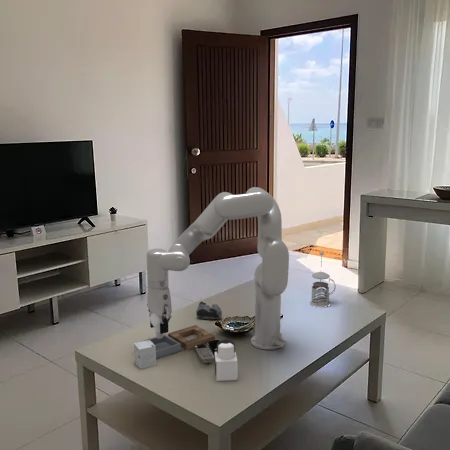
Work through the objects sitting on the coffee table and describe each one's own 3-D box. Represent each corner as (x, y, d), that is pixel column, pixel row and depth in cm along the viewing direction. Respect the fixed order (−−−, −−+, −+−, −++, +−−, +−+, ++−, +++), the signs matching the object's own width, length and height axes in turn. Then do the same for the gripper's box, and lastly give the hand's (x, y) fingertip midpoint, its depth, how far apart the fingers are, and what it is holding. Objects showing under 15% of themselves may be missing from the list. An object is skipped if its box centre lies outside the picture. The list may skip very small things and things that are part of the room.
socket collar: (214, 341, 193) (214, 335, 193) (186, 350, 185) (186, 344, 185) (195, 330, 203) (195, 325, 203) (168, 339, 195) (168, 333, 195)
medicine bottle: (214, 370, 170) (214, 337, 168) (235, 370, 171) (235, 337, 168) (216, 381, 163) (215, 347, 161) (237, 380, 164) (237, 346, 162)
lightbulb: (165, 342, 181) (164, 314, 179) (148, 341, 182) (147, 312, 180) (170, 335, 187) (169, 307, 185) (154, 334, 188) (153, 306, 186)
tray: (181, 351, 185) (180, 343, 184) (154, 360, 178) (154, 352, 178) (165, 341, 193) (165, 334, 193) (139, 349, 187) (139, 341, 186)
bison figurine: (221, 322, 213) (225, 312, 222) (220, 306, 211) (225, 297, 220) (193, 320, 215) (199, 311, 224) (193, 305, 213) (198, 296, 223)
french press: (308, 300, 238) (310, 248, 233) (333, 301, 236) (335, 249, 231) (309, 307, 228) (311, 254, 223) (335, 308, 227) (337, 255, 222)
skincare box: (134, 362, 177) (133, 342, 175) (150, 358, 180) (149, 339, 178) (140, 369, 172) (139, 349, 170) (156, 365, 175) (156, 345, 173)
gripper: (179, 287, 176) (180, 335, 180) (154, 275, 189) (156, 320, 193) (161, 291, 172) (162, 340, 175) (137, 279, 185) (138, 325, 189)
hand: (159, 329), depth 184 cm, fingers closed on lightbulb, 6 cm apart
